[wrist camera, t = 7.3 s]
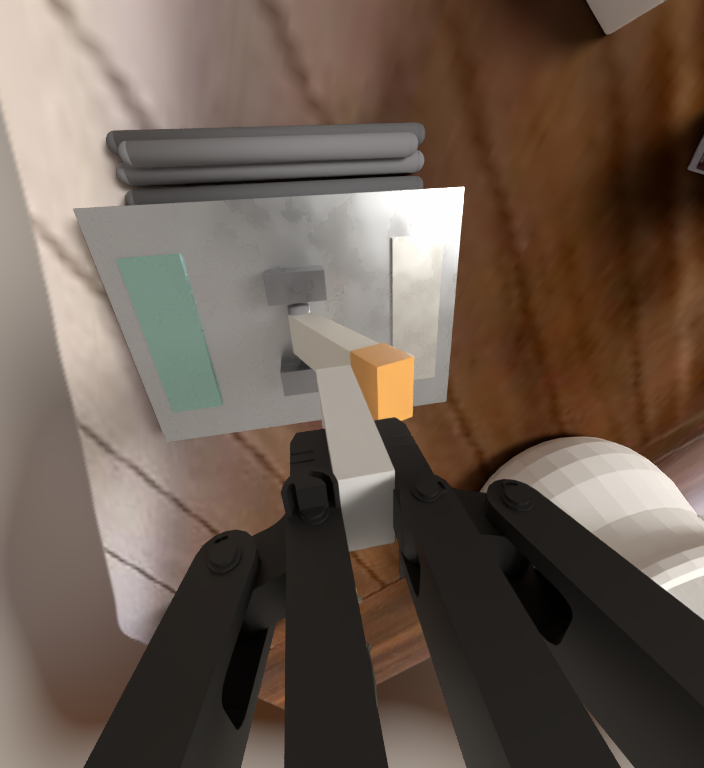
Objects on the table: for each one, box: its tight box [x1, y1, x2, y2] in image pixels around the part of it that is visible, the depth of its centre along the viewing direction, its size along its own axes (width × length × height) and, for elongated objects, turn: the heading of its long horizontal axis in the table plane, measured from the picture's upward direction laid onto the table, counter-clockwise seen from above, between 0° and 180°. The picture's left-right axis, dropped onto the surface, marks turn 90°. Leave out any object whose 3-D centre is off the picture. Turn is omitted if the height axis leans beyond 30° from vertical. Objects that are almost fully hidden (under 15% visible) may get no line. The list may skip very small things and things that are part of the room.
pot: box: [480, 436, 704, 620], centre depth 37 cm, size 26×24×18 cm
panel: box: [73, 187, 464, 442], centre depth 25 cm, size 18×26×6 cm
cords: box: [106, 123, 425, 206], centre depth 22 cm, size 5×21×3 cm, turn 93°
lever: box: [288, 303, 414, 421], centre depth 20 cm, size 4×2×13 cm, turn 3°
